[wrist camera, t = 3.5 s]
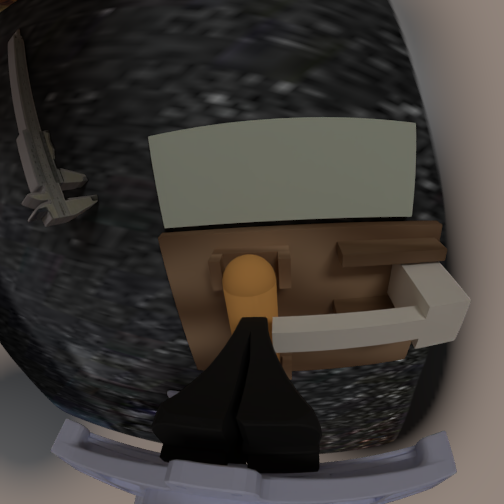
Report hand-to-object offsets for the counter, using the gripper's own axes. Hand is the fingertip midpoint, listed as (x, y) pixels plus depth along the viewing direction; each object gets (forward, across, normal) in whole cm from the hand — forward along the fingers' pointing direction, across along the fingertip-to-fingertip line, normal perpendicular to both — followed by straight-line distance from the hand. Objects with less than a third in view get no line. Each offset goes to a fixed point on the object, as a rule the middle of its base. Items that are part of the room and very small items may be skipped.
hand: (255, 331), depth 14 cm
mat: (+6, -2, -7) cm, 9 cm away
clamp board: (+6, -3, +3) cm, 7 cm away
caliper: (+6, +16, -16) cm, 23 cm away
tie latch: (+5, -6, 0) cm, 8 cm away
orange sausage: (+4, 0, +3) cm, 5 cm away
